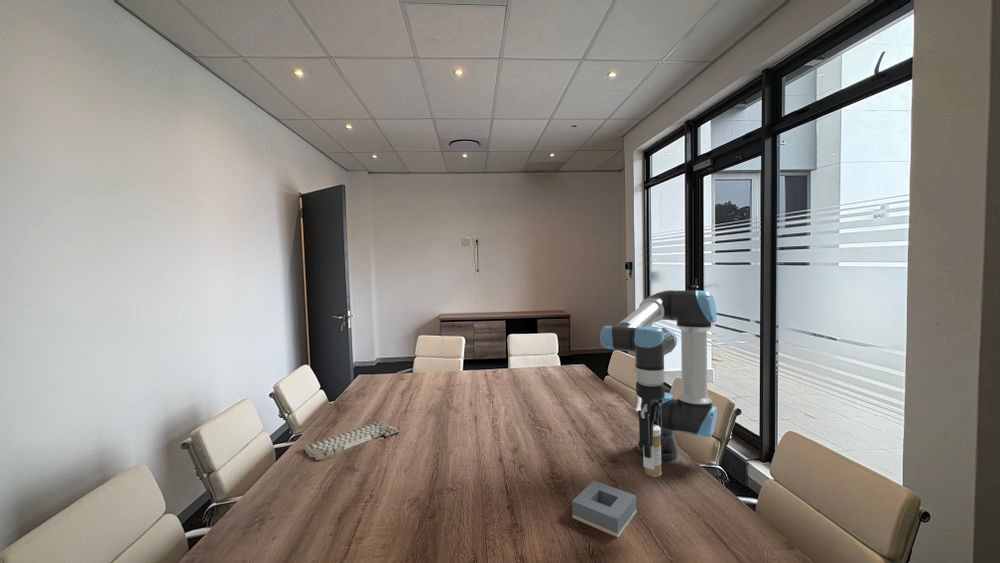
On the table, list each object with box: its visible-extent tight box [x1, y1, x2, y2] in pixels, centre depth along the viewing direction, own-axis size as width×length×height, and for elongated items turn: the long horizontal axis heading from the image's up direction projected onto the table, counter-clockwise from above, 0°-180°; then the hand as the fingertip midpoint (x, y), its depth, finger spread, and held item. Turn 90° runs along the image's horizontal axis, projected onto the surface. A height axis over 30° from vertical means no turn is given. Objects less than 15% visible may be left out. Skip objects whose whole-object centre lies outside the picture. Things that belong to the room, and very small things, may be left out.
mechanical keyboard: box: [303, 420, 400, 461], centre depth 169 cm, size 38×19×3 cm, turn 139°
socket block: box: [571, 480, 637, 538], centre depth 113 cm, size 14×14×5 cm
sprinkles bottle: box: [644, 424, 663, 478], centre depth 107 cm, size 5×5×14 cm
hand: (651, 463), depth 107 cm, fingers closed on sprinkles bottle, 4 cm apart
